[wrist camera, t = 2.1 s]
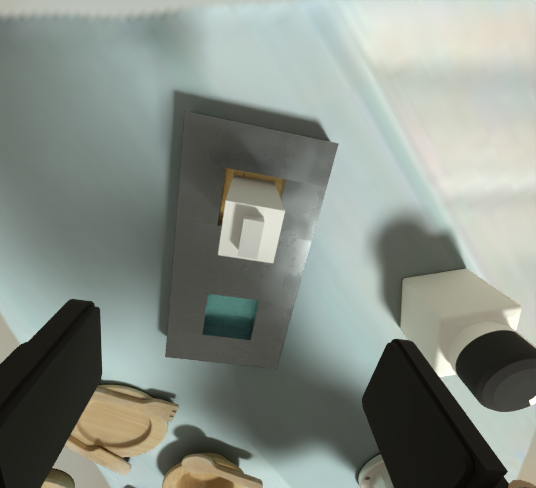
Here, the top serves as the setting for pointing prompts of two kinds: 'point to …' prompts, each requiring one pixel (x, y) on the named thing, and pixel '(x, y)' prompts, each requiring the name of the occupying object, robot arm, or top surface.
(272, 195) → the plug
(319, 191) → the panel
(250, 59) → the top surface
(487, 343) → the medicine bottle
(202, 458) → the tableware set
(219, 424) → the top surface
